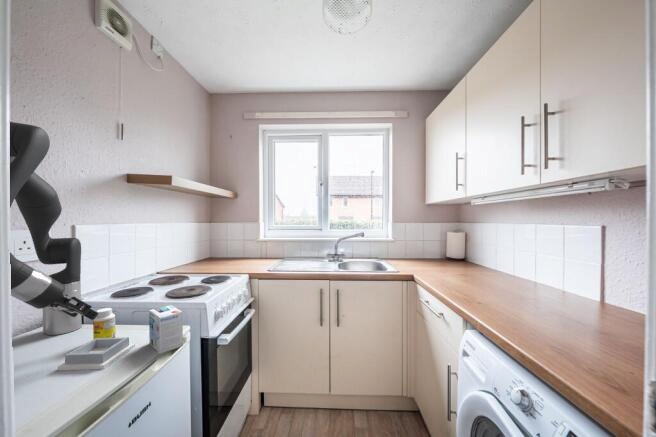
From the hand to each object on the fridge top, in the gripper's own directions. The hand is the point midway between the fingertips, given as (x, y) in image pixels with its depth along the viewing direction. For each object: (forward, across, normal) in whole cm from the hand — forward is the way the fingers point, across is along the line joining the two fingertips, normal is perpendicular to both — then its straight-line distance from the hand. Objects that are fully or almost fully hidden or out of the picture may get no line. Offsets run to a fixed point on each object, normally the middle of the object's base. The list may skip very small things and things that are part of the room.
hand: (86, 315), depth 84 cm
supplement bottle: (+11, 0, +4) cm, 12 cm away
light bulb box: (+14, -22, +1) cm, 26 cm away
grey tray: (+5, -10, +9) cm, 15 cm away
